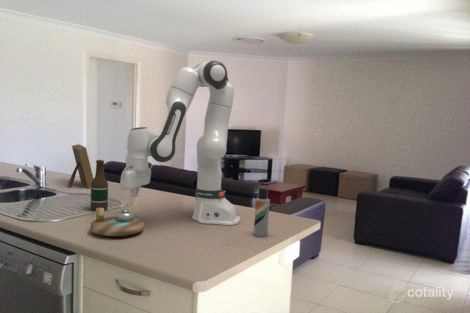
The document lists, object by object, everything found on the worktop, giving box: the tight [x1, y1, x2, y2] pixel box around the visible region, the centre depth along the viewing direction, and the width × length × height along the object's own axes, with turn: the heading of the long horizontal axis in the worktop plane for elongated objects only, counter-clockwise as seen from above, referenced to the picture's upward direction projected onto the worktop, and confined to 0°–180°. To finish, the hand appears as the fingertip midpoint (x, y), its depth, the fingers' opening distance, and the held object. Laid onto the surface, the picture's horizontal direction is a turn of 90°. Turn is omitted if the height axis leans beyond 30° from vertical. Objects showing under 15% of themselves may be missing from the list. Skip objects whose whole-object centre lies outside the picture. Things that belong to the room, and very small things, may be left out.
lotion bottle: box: [253, 186, 271, 238], centre depth 160 cm, size 6×6×20 cm
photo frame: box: [67, 143, 95, 189], centre depth 242 cm, size 15×22×25 cm
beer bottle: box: [90, 159, 109, 212], centre depth 186 cm, size 8×8×24 cm
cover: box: [115, 208, 135, 222], centre depth 160 cm, size 7×7×4 cm
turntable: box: [90, 208, 145, 237], centre depth 154 cm, size 20×20×7 cm
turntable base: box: [101, 234, 133, 238], centre depth 155 cm, size 14×14×1 cm
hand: (134, 196), depth 168 cm, fingers closed
